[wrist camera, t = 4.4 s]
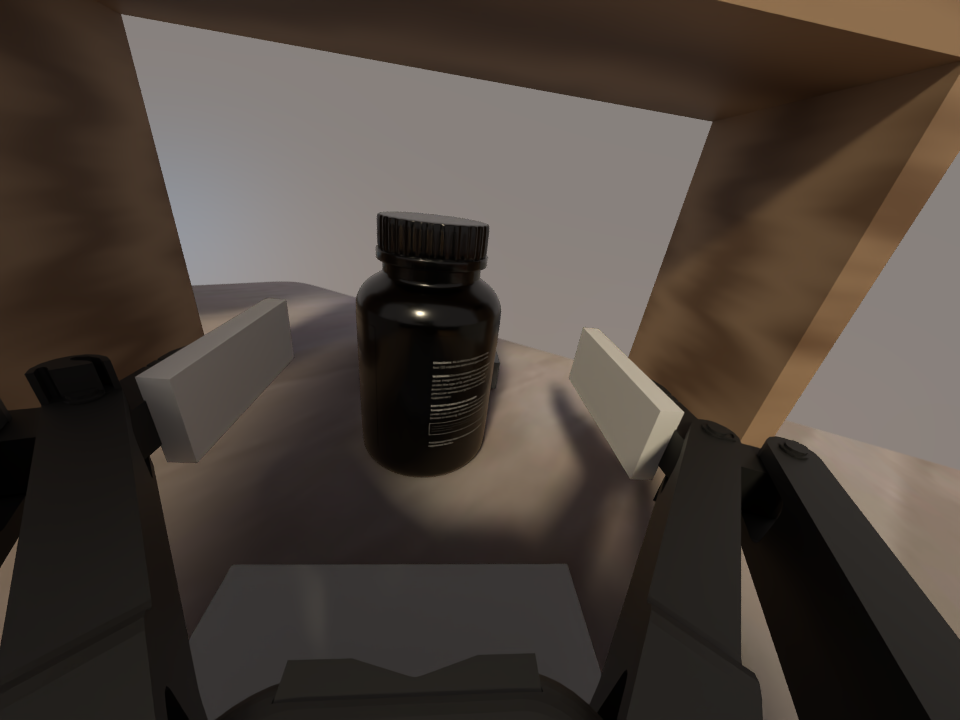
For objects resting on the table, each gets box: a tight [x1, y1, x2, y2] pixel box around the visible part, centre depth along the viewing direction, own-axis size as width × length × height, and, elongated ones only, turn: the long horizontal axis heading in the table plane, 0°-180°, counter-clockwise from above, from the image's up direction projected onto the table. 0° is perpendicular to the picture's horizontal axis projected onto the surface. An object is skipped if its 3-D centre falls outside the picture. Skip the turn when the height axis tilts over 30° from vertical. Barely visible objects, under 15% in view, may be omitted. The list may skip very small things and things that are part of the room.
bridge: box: [0, 0, 960, 448], centre depth 15 cm, size 10×31×20 cm, turn 94°
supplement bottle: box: [356, 212, 501, 477], centre depth 17 cm, size 7×7×12 cm
